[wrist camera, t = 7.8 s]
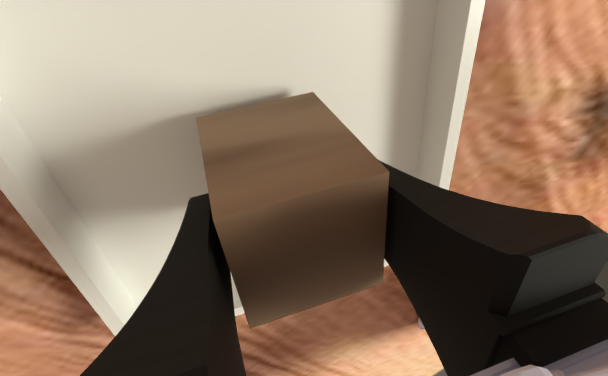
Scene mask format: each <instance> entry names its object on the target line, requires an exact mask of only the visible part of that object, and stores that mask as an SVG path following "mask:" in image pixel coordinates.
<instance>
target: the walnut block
mask: <svg viewBox="0 0 608 376" xmlns="http://www.w3.org/2000/svg"><path fill="white" fill-rule="evenodd" d="M196 120H197V126H198V132H199V138H200V144H201V150H202V157H203V163H204V169H205V175H206V181H207V187H208V193H209V199H210V205H211V212H212V218H213V222H214V225H215V228H216V231H217V234H218V237H219V240H220V242H221V245H222V248H223V251H224V254H225V257H226V260H227V263H228V266H229V269H230V272H231V274H232V277H233V280H234V283H235V286H236V289H237V292H238V295H239V298H240V301H241V304H242V307H243V309H244V312H245V315H246V318H247V321H248V324H249V327H250V328H253V327H256V326H259V325H262V324H265V323H268V322H271V321H274V320H277V319H280V318H283V317H285V316H288V315H291V314H294V313H297V312H300V311H303V310H306V309H309V308H312V307H315V306H318V305H321V304H324V303H327V302H329V301H332V300H335V299H338V298H341V297H344V296H347V295H350V294H353V293H356V292H359V291H362V290H365V289H368V288H371V287H373V286H376V285H379V284H382V283H383V271H384V254H385V237H386V220H387V203H388V186H389V171H388V170H387V169H386V168H385V167H384V166H383V165H382V163H381V162H380V161H379V160H378V159H377V158H376V157H375V156H374V155H373V154H372V153H371V152H370V151H369V150H368V149H367V148H366V147H365V146H364V145H363V144H362V143H361V142H360V140H359V139H358V138H357V137H356V136H355V135H354V134H353V133H352V132H351V131H350V130H349V129H348V128H347V127H346V126H345V125H344V124H343V123H342V122H341V121H340V120H339V119H338V117H337V116H336V115H335V114H334V113H333V112H332V111H331V110H330V109H329V108H328V107H327V106H326V105H325V104H324V103H323V102H322V101H321V100H320V99H319V98H318V97H317V96H316V94H315V93H314V92H310V93H306V94H301V95H296V96H292V97H287V98H283V99H278V100H274V101H269V102H265V103H260V104H255V105H251V106H246V107H242V108H237V109H233V110H228V111H224V112H219V113H214V114H210V115H205V116H201V117H196Z"/></svg>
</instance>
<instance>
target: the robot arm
mask: <svg viewBox="0 0 608 376" xmlns="http://www.w3.org/2000/svg"><path fill="white" fill-rule="evenodd" d="M379 161H380V160H379ZM380 162H381V163H382V165H383V166H384V167H385V168H386V169H387V170H388V171H389V186H388V203H387V220H386V237H385V254H384V259H385V260H386V261H387V263H388V264H389V266H390V267H391V268H392V270H393V272H394V273H395V275H396V276H397V278H398V279H399V281H400V283H401V285H402V287H403V288H404V290H405V292H406V294H407V296H408V297H409V299H410V301H411V303H412V305H413V307H414V308H415V310H416V312H417V314H418V316H419V319H418V326H419V328H420V329H425V330H426V332H427V334H428V336H429V338H430V340H431V342H432V344H433V346H434V348H435V350H436V352H437V354H438V356H439V358H440V360H441V362H442V365H443V367H444V369H445V371H446V373H447V375H448V376H608V303H607V302H606V301H605V300H603V299H602V297H604V296H605V294H606V293H605V291H604V290H603V289H602V288H601V287H600V286H598V285H597V284H596V283H595V280H596V279H597V277H598V275H599V274H600V272H601V271H602V269H603V268H604V266H605V264H606V263H607V261H608V233H606V232H605V231H603V230H602V229H600V228H599V227H597V226H596V225H594V224H593V223H592V222H590V221H589V220H587V219H586V218H584V217H583V216H579V215H569V214H560V213H551V212H542V211H535V210H529V209H523V208H517V207H511V206H506V205H501V204H497V203H492V202H488V201H484V200H480V199H476V198H472V197H469V196H465V195H462V194H459V193H456V192H452V191H449V190H446V189H443V188H441V187H438V186H435V185H433V184H430V183H428V182H425V181H423V180H420V179H418V178H416V177H413V176H411V175H409V174H407V173H405V172H402V171H400V170H398V169H396V168H394V167H392V166H390V165H388V164H386V163H384V162H382V161H380ZM80 376H246V373H245V369H244V364H243V359H242V354H241V349H240V344H239V339H238V334H237V328H236V321H235V312H234V302H233V292H232V282H231V272H230V269H229V266H228V263H227V260H226V257H225V254H224V251H223V248H222V245H221V242H220V240H219V237H218V234H217V231H216V228H215V225H214V222H213V218H212V212H211V205H210V199H209V193H207V194H203V195H199V196H195V197H191V198H190V200H189V201H188V205H187V208H186V212H185V215H184V218H183V221H182V224H181V227H180V229H179V232H178V234H177V237H176V239H175V242H174V244H173V246H172V248H171V250H170V252H169V255H168V257H167V259H166V261H165V263H164V265H163V267H162V269H161V271H160V272H159V274H158V276H157V278H156V279H155V281H154V283H153V284H152V286H151V288H150V289H149V291H148V293H147V294H146V296H145V297H144V299H143V300H142V302H141V303H140V304H139V306H138V307H137V309H136V310H135V312H134V313H133V315H132V316H131V317H130V319H129V320H128V321H127V323H126V324H125V325H124V326H123V328H122V329H121V330H120V331H119V332H118V334H117V335H116V336H115V337H114V339H113V340H112V341H111V342H110V343H109V345H108V346H107V347H106V348H105V349H104V350H103V352H102V353H101V354H100V355H99V356H98V357H97V358H96V359H95V360H94V361H93V362H92V363H91V364H90V366H89V367H88V368H87V369H86V370H85V371H84V372H83V373H82V374H81V375H80Z"/></svg>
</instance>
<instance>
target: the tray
mask: <svg viewBox="0 0 608 376" xmlns="http://www.w3.org/2000/svg"><path fill="white" fill-rule="evenodd" d="M484 5H485V0H0V190H1V191H2V192H3V193H4V195H5V196H6V197H7V199H8V200H9V201H10V202H11V204H12V205H13V206H14V207H15V209H16V210H17V211H18V213H19V214H20V215H21V216H22V218H23V219H24V220H25V222H26V223H27V224H28V225H29V227H30V228H31V229H32V231H33V232H34V233H35V234H36V236H37V237H38V238H39V239H40V241H41V242H42V243H43V245H44V246H45V247H46V248H47V250H48V251H49V252H50V254H51V255H52V256H53V257H54V259H55V260H56V261H57V262H58V264H59V265H60V266H61V268H62V269H63V270H64V271H65V273H66V274H67V275H68V277H69V278H70V279H71V280H72V282H73V283H74V284H75V286H76V287H77V288H78V289H79V291H80V292H81V293H82V294H83V296H84V297H85V298H86V300H87V301H88V302H89V303H90V305H91V306H92V307H93V309H94V310H95V311H96V312H97V314H98V315H99V316H100V318H101V319H102V320H103V321H104V323H105V324H106V325H107V326H108V328H109V329H110V330H111V332H112V333H113V334H114V335H115V336H116V335H117V334H118V332H119V331H120V330H121V329H122V328H123V326H124V325H125V324H126V323H127V321H128V320H129V319H130V317H131V316H132V315H133V313H134V312H135V310H136V309H137V307H138V306H139V304H140V303H141V302H142V300H143V299H144V297H145V296H146V294H147V293H148V291H149V289H150V288H151V286H152V284H153V283H154V281H155V279H156V278H157V276H158V274H159V272H160V271H161V269H162V267H163V265H164V263H165V261H166V259H167V257H168V255H169V252H170V250H171V248H172V246H173V244H174V242H175V239H176V237H177V234H178V232H179V229H180V227H181V224H182V221H183V218H184V215H185V212H186V208H187V205H188V201H189V200H190V198H191V197H195V196H199V195H203V194H207V193H208V187H207V181H206V175H205V169H204V163H203V157H202V150H201V144H200V138H199V132H198V126H197V120H196V117H201V116H205V115H210V114H214V113H219V112H224V111H228V110H233V109H237V108H242V107H246V106H251V105H255V104H260V103H265V102H269V101H274V100H278V99H283V98H287V97H292V96H296V95H301V94H306V93H310V92H314V93H315V94H316V96H317V97H318V98H319V99H320V100H321V101H322V102H323V103H324V104H325V105H326V106H327V107H328V108H329V109H330V110H331V111H332V112H333V113H334V114H335V115H336V116H337V117H338V119H339V120H340V121H341V122H342V123H343V124H344V125H345V126H346V127H347V128H348V129H349V130H350V131H351V132H352V133H353V134H354V135H355V136H356V137H357V138H358V139H359V140H360V142H361V143H362V144H363V145H364V146H365V147H366V148H367V149H368V150H369V151H370V152H371V153H372V154H373V155H374V156H375V157H376V158H377V159H378V160H380V161H382V162H384V163H386V164H388V165H390V166H392V167H394V168H396V169H398V170H400V171H402V172H405V173H407V174H409V175H411V176H413V177H416V178H418V179H420V180H423V181H425V182H428V183H430V184H433V185H435V186H438V187H441V188H443V189H446V190H449V185H450V180H451V175H452V170H453V165H454V160H455V154H456V149H457V144H458V139H459V134H460V129H461V124H462V118H463V113H464V108H465V103H466V98H467V93H468V87H469V82H470V77H471V72H472V67H473V62H474V56H475V51H476V46H477V41H478V36H479V31H480V26H481V20H482V15H483V10H484ZM386 266H389V264H388V263H387V261H386V260H385V259H384V267H386ZM231 282H232V292H233V302H234V312H235V316H238V315H241V314H244V313H245V312H244V309H243V307H242V304H241V301H240V298H239V295H238V292H237V289H236V286H235V283H234V280H233V277H232V274H231Z"/></svg>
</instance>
